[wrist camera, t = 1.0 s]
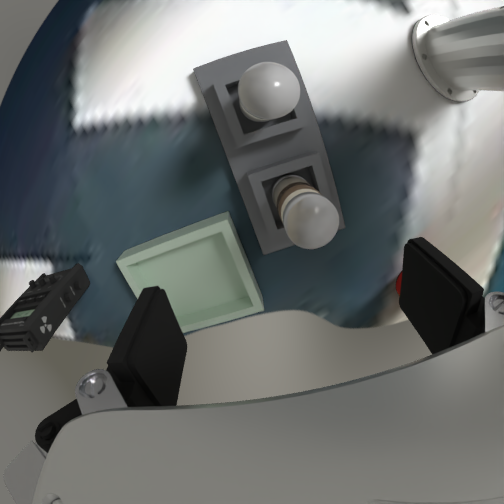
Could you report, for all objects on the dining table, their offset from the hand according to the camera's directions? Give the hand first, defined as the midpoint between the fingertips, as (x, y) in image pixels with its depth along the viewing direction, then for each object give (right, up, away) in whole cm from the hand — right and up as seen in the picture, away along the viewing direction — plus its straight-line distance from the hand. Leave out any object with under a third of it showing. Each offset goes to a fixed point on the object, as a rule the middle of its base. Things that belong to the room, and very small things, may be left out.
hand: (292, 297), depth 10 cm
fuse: (-1, +16, +15) cm, 22 cm away
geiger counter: (-29, -2, +24) cm, 37 cm away
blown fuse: (+3, +8, +19) cm, 21 cm away
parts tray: (-9, -1, +24) cm, 26 cm away
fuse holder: (+1, +13, +18) cm, 22 cm away
